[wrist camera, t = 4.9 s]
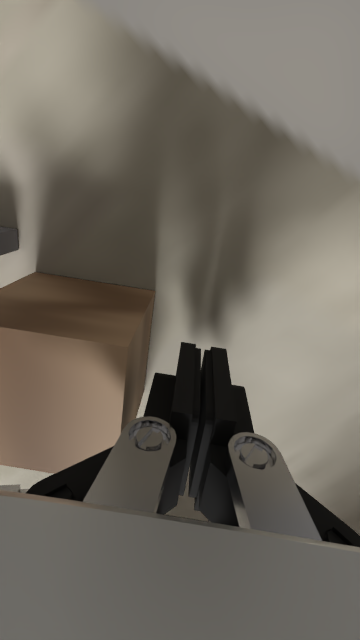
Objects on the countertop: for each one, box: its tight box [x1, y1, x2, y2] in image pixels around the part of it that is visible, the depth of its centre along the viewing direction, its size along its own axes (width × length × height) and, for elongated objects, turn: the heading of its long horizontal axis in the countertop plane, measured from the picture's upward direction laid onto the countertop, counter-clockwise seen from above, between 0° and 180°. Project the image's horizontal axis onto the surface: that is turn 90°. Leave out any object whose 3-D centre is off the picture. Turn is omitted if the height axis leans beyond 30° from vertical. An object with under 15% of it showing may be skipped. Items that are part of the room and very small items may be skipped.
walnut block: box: [0, 272, 155, 474], centre depth 11 cm, size 5×5×5 cm
